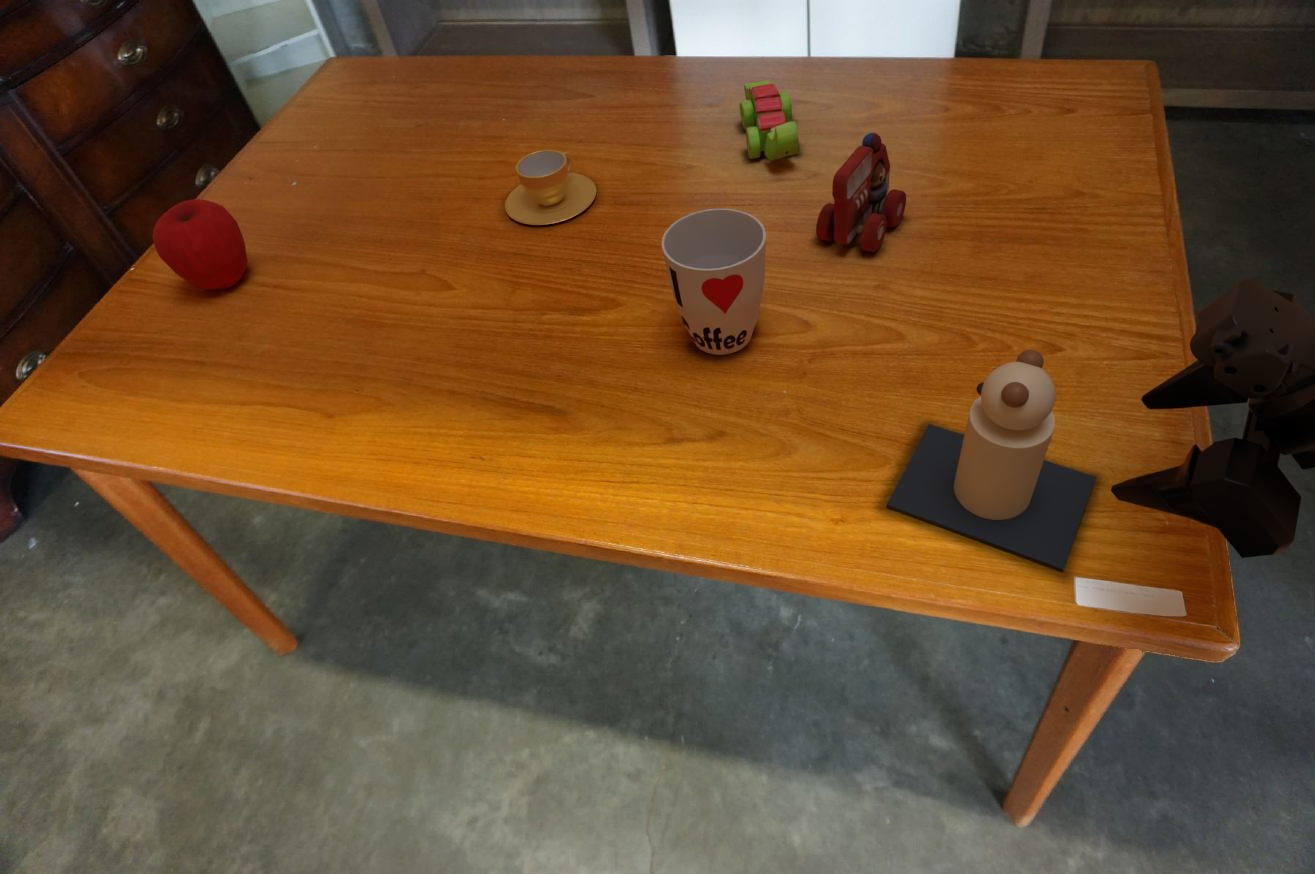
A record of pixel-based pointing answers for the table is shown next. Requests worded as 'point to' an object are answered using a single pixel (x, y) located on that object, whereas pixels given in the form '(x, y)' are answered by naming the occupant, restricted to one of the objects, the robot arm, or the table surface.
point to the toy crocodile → (768, 121)
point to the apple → (201, 244)
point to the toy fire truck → (862, 198)
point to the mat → (1029, 534)
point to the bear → (1006, 439)
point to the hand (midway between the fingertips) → (1130, 446)
